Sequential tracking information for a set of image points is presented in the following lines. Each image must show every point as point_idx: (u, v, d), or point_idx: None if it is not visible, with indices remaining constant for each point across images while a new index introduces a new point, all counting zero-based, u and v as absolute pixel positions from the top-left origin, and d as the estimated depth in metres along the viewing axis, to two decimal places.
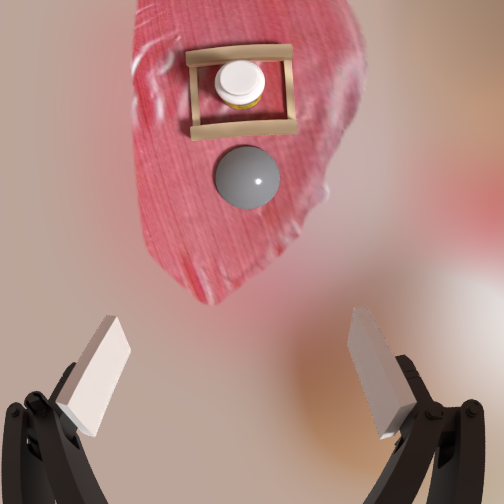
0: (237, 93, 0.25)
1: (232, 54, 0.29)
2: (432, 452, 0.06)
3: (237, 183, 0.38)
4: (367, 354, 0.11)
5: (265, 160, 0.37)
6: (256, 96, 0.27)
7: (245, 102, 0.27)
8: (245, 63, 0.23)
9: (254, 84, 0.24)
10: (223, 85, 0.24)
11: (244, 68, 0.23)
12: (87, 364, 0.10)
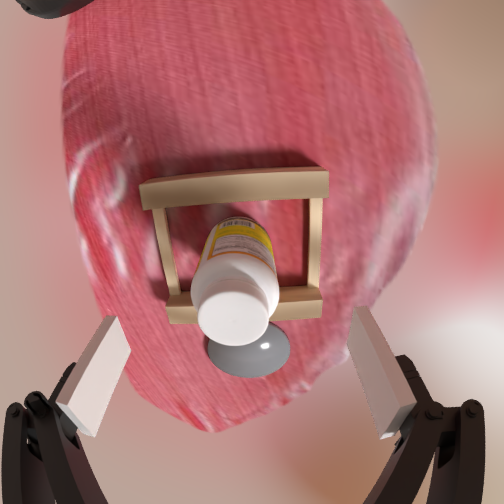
0: (231, 345, 0.15)
1: (220, 194, 0.19)
2: (432, 452, 0.06)
3: (236, 357, 0.29)
4: (367, 354, 0.11)
5: (272, 336, 0.28)
6: None
7: None
8: (244, 297, 0.14)
9: (261, 332, 0.15)
10: (206, 332, 0.15)
11: (242, 306, 0.14)
12: (87, 364, 0.10)
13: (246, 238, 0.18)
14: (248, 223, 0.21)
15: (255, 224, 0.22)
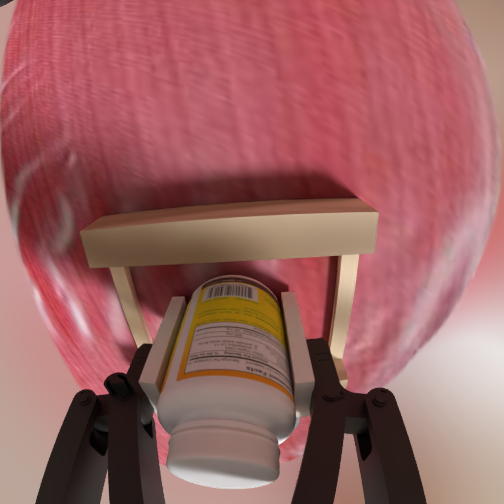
0: (223, 488, 0.08)
1: (201, 249, 0.12)
2: (341, 433, 0.07)
3: None
4: (286, 335, 0.13)
5: None
6: None
7: None
8: (240, 463, 0.06)
9: (267, 483, 0.07)
10: (183, 478, 0.07)
11: (236, 468, 0.07)
12: (167, 341, 0.12)
13: (244, 332, 0.11)
14: (247, 290, 0.14)
15: (258, 289, 0.14)
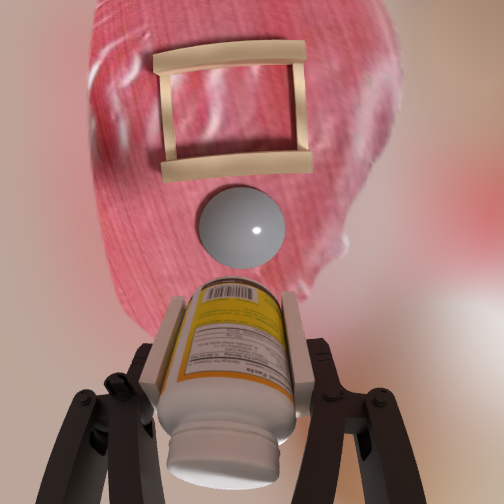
0: None
1: (218, 55, 0.20)
2: (341, 432, 0.07)
3: (228, 237, 0.29)
4: (286, 335, 0.13)
5: (265, 206, 0.28)
6: None
7: None
8: (240, 464, 0.06)
9: (267, 484, 0.07)
10: (183, 479, 0.07)
11: (236, 470, 0.07)
12: (167, 341, 0.12)
13: (244, 333, 0.11)
14: (248, 291, 0.14)
15: (258, 290, 0.14)
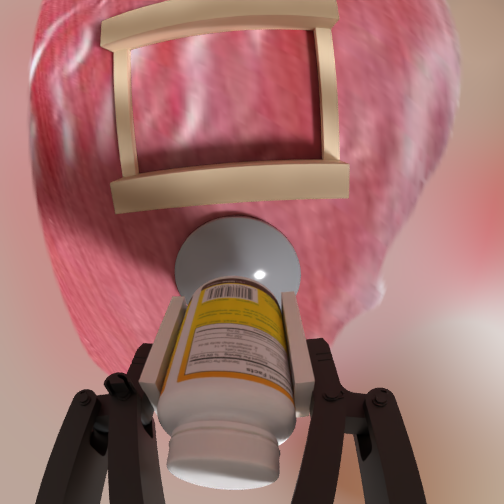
0: None
1: (198, 11, 0.10)
2: (341, 432, 0.07)
3: None
4: (286, 335, 0.13)
5: (273, 246, 0.18)
6: None
7: None
8: (240, 464, 0.06)
9: (267, 484, 0.07)
10: (183, 479, 0.07)
11: (236, 469, 0.07)
12: (167, 341, 0.12)
13: (244, 333, 0.11)
14: (248, 291, 0.14)
15: (258, 291, 0.14)
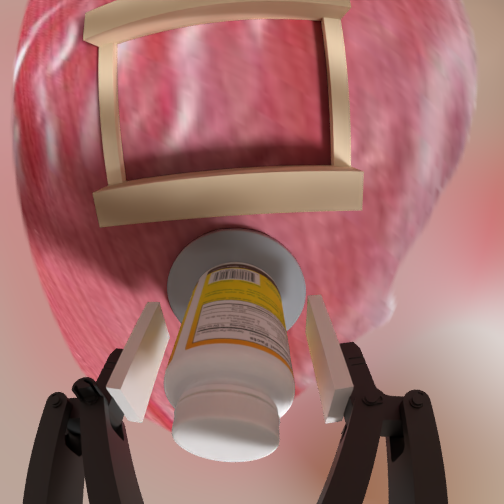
0: (224, 461, 0.09)
1: None
2: (377, 438, 0.07)
3: None
4: (316, 340, 0.13)
5: (275, 262, 0.17)
6: None
7: None
8: (243, 425, 0.07)
9: (267, 454, 0.08)
10: (186, 449, 0.08)
11: (239, 432, 0.08)
12: (136, 348, 0.12)
13: (247, 308, 0.12)
14: (250, 275, 0.15)
15: (260, 275, 0.15)
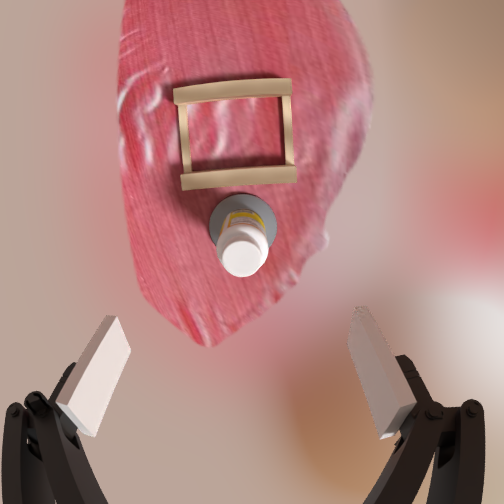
0: (240, 276, 0.28)
1: (224, 91, 0.28)
2: (432, 452, 0.06)
3: None
4: (367, 354, 0.11)
5: (261, 209, 0.36)
6: None
7: None
8: (248, 244, 0.27)
9: (257, 267, 0.28)
10: (226, 267, 0.28)
11: (247, 249, 0.27)
12: (87, 364, 0.10)
13: (249, 218, 0.31)
14: (250, 212, 0.34)
15: (254, 213, 0.34)
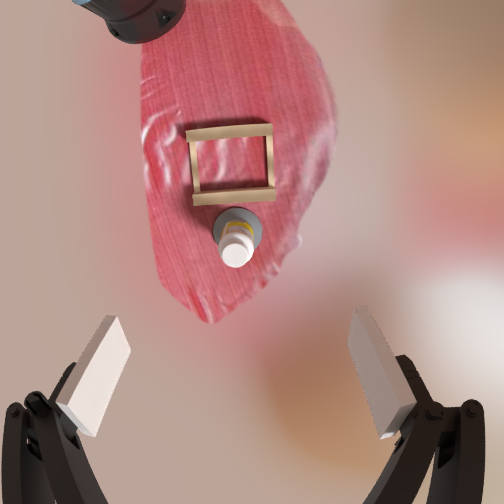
0: (234, 266, 0.42)
1: (223, 134, 0.41)
2: (432, 452, 0.06)
3: None
4: (367, 354, 0.11)
5: (251, 219, 0.49)
6: None
7: None
8: (239, 246, 0.40)
9: (245, 261, 0.41)
10: (224, 260, 0.41)
11: (238, 249, 0.41)
12: (87, 364, 0.10)
13: (241, 227, 0.45)
14: (242, 221, 0.47)
15: (245, 222, 0.48)
